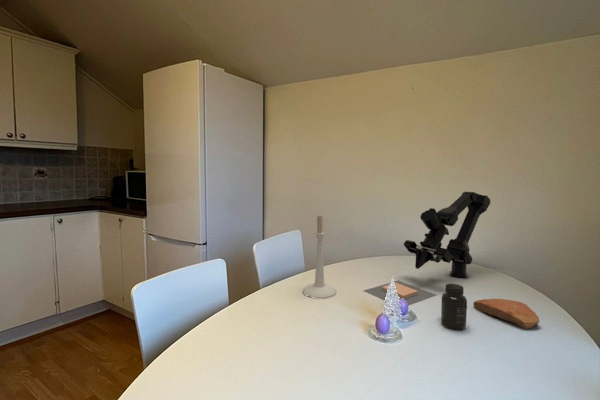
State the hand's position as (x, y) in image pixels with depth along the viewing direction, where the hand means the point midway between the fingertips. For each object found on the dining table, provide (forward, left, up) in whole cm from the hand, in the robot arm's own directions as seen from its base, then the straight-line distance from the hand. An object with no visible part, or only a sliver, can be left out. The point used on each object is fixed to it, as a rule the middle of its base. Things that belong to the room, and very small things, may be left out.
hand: (416, 268), depth 121 cm
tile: (+5, -3, -7) cm, 9 cm away
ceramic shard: (+12, +29, -9) cm, 32 cm away
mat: (+8, -5, -8) cm, 13 cm away
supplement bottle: (+25, +14, -9) cm, 30 cm away
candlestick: (+20, -32, -9) cm, 39 cm away
